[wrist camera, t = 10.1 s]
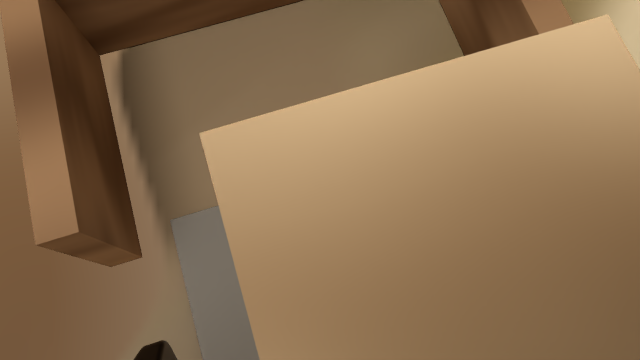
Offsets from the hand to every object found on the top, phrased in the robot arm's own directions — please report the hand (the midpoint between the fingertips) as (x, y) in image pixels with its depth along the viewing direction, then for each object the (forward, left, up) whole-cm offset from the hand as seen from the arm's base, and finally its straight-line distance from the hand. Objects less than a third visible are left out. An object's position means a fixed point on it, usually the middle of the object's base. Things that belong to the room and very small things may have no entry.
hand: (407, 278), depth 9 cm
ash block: (0, 0, -9) cm, 9 cm away
